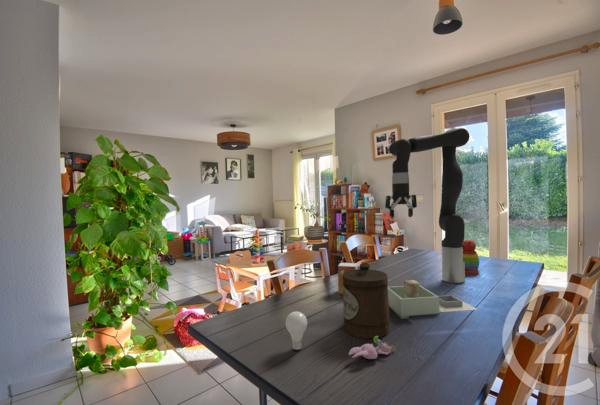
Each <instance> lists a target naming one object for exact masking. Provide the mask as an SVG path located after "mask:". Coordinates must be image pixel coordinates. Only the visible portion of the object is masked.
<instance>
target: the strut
mask: <svg viewBox="0 0 600 405" xmlns="http://www.w3.org/2000/svg"><path fill="white" fill-rule="evenodd" d="M419 285H420V283H419V282H418V281H417V280H415V279H406V280H403V286H404V298H417V297H419Z"/></svg>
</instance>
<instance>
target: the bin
mask: <svg viewBox="0 0 600 405" xmlns="http://www.w3.org/2000/svg"><path fill="white" fill-rule="evenodd" d="M438 296H439V295H437V294H435V293H434V292H432V291H431V290H428V289H427V288H426V287H423V286H422V285H421V284H419V297H417V298H404V285H397V286H394V285H392V286H388V301H389V309H391V310H392V312H394V313H395V315H396V316H398V317H399V318H400V320H404V319H411V317H412V316H423V315H425V316H426V315H437V314H440V311H439V297H438Z"/></svg>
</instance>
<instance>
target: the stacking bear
mask: <svg viewBox="0 0 600 405" xmlns="http://www.w3.org/2000/svg"><path fill="white" fill-rule="evenodd" d="M476 244H477V243H476V242H475V241H473V240H471V239H467V240H465V239H464V242H463V245H462V249H463V262H464V263H465V276H468V275H469V276H477V275H479V274H480V271H479V267H480V257H479V253H477V251H476V248H477V245H476Z"/></svg>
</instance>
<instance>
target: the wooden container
mask: <svg viewBox="0 0 600 405" xmlns="http://www.w3.org/2000/svg"><path fill="white" fill-rule="evenodd" d="M370 267H371V265H370V264H369V263H368V262H365V261H363V262H361V263H360V264H359V268H357V269H356V270H349V271H346V272H344V273H343V294H342V295H343V297H342V298H343V300H342V301H343V306H342V307H343V328H344V330H345V331H346V332H347V333H349V334H350V335H352V336H354V337H357V338H362V339H374V337H375V336H378V339H379V338H382V337H384V336H387V335H388V334H389V332H390V307H389V301H388V287H389V286H388V284H389V283H388V274H387V273H385V272H384V271H381V270H376V269H370Z"/></svg>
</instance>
